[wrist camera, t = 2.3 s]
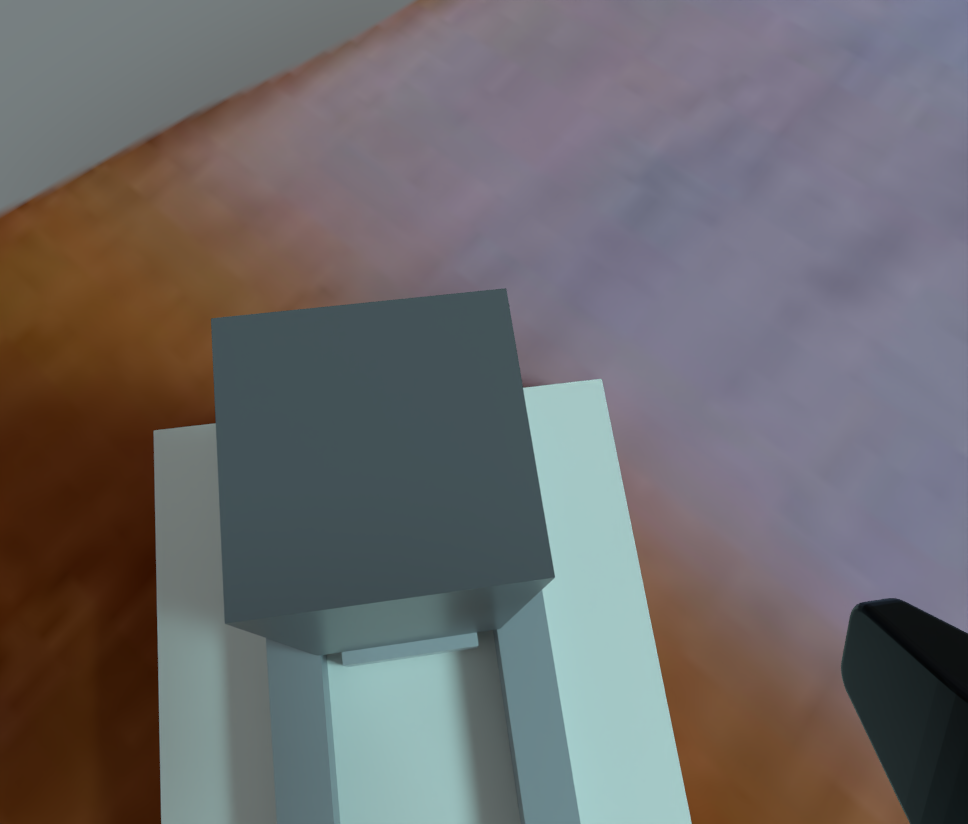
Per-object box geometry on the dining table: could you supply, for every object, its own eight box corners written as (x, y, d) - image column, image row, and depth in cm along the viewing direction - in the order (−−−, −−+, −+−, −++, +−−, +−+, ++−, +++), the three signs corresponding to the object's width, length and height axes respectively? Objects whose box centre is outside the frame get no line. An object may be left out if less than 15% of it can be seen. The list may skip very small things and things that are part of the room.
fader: (498, 645, 17) (558, 601, 9) (324, 670, 16) (225, 648, 8) (470, 456, 18) (502, 270, 10) (309, 476, 18) (210, 299, 10)
